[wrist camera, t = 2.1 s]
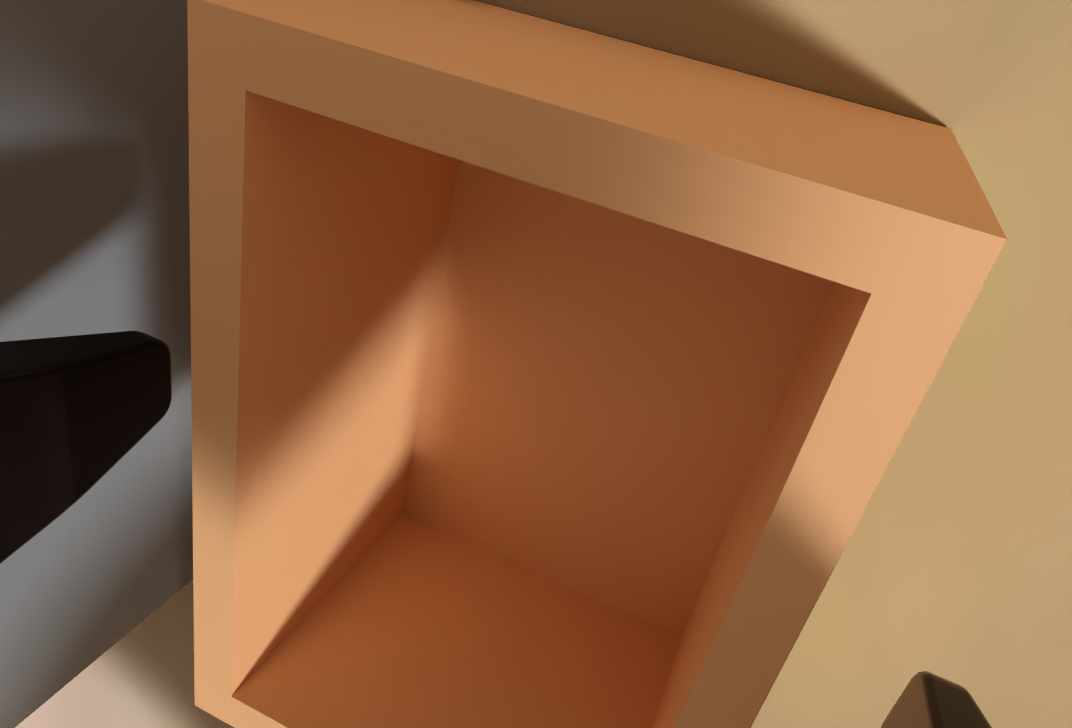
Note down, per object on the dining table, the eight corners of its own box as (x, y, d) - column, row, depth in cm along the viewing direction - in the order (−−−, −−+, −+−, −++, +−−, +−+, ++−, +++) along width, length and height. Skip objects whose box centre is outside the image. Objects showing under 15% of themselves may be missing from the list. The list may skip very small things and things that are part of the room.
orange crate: (951, 129, 9) (1007, 239, 5) (711, 654, 14) (632, 951, 9) (462, -3, 11) (186, -5, 6) (388, 507, 15) (194, 705, 11)
